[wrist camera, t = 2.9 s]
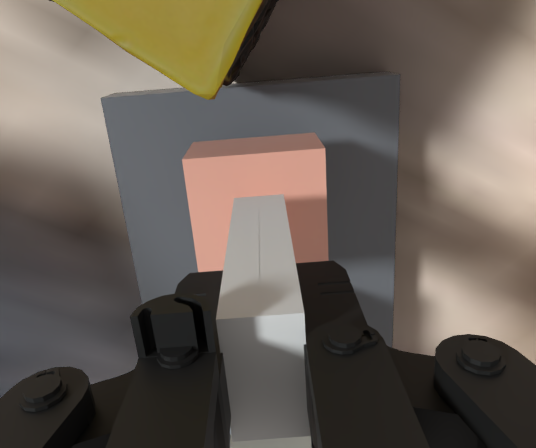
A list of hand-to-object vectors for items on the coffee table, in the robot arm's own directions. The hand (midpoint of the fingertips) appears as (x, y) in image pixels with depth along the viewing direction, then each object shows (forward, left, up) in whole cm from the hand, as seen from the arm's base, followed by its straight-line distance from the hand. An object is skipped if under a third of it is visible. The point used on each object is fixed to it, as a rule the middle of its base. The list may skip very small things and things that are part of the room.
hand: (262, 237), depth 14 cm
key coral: (0, 0, -6) cm, 6 cm away
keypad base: (0, -7, -8) cm, 11 cm away
